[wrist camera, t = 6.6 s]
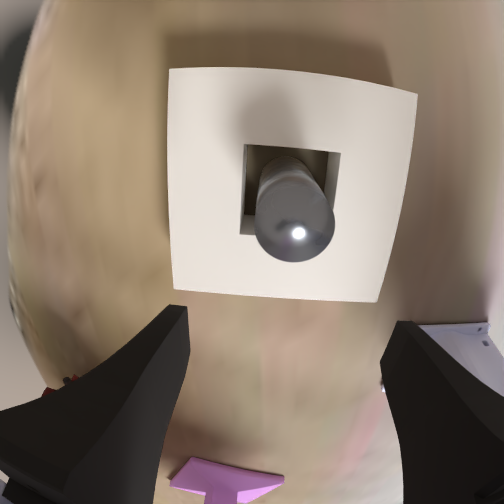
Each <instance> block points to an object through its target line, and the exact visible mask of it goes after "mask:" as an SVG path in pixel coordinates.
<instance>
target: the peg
mask: <svg viewBox="0 0 504 504" xmlns="http://www.w3.org/2000/svg"><path fill="white" fill-rule="evenodd" d="M254 231H255V235H256V238H257V241H258V242H259V244H260V246H261V247H262V248H263V249H264V251H265V252H267V253H268V254H269V255H271V256H272V257H274V258H276V259H278V260H281V261H285V262H292V263H293V262H303V261H307V260H310V259H312V258H314V257H316V256H317V255H319V254H320V253H321V252H323V251H324V250H325V249H326V247H327V246H328V245H329V243H330V242H331V240H332V238H333V235H334V231H335V216H334V213H333V210H332V208H331V206H330V204H329V202H328V201H327V199H326V197H325V196H324V194H323V192H322V191H321V189H320V187H319V186H318V184H317V183H316V181H315V179H314V178H313V176H312V174H311V173H310V171H309V170H308V168H307V167H306V165H305V164H304V163H303V162H301V161H300V160H298V159H296V158H293V157H288V156H283V157H278V158H275V159H273V160H271V161H270V162H269V163H268V164H267V165H266V166H265V167H264V168H263V170H262V172H261V175H260V181H259V189H258V197H257V204H256V212H255V219H254Z"/></svg>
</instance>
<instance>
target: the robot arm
mask: <svg viewBox="0 0 504 504" xmlns="http://www.w3.org/2000/svg"><path fill="white" fill-rule="evenodd" d="M490 327H491V325H490V324H489V323H488V322H486V323H468V324H445V325H417V324H415V323H414V322H413V321H397V323H396V325H395V328H394V330H393V333H392V335H391V338H390V340H389V342H388V345H387V347H386V349H385V352H384V354H383V356H382V358H381V360H380V366H381V373H382V379H383V385H382V387H381V389H382V391H383V392H386V396H387V399H388V403H389V406H390V410H391V413H392V417H393V420H394V424H395V427H396V431H397V435H398V439H399V444H400V451H401V459H402V469H403V504H504V358H503V356H502V355H501V353H500V351H499V350H498V349H497V347H496V346H495V344H494V343H493V341H492V340H491V338H490V337H489V335H488V334H487V333H488V331H489V329H490ZM189 356H190V339H189V326H188V311H187V306H179V305H171V304H169V305H168V306H167V307H166V308H165V309H164V310H163V311H162V312H161V313H159V314H158V315H157V316H156V317H155V318H154V319H153V320H152V321H151V322H150V323H149V324H148V325H147V326H146V327H145V328H144V329H143V330H141V331H140V332H139V333H138V334H137V335H136V336H135V337H134V338H133V339H131V340H130V341H129V342H128V343H127V344H126V345H124V346H123V347H122V348H121V349H119V350H118V351H117V352H116V353H114V354H113V355H112V356H111V357H109V358H108V359H107V360H105V361H104V362H103V363H101V364H100V365H99V366H97V367H96V368H94V369H93V370H91V371H90V372H88V373H87V374H85V375H83V376H82V377H80V378H78V379H76V380H74V381H73V382H71V383H69V384H67V385H65V386H63V387H62V388H60V389H58V390H56V391H54V392H51V393H49V394H47V395H45V396H43V397H40V398H38V399H35V400H33V401H30V402H27V403H25V404H22V405H18V406H15V407H12V408H9V409H5V410H2V411H0V470H1V471H2V472H3V473H5V474H6V475H7V476H8V477H9V480H8V482H7V484H6V483H5V482H4V481H2V480H1V479H0V504H153V498H154V491H155V484H156V478H157V473H158V467H159V462H160V457H161V452H162V447H163V442H164V438H165V434H166V431H167V427H168V424H169V421H170V419H171V416H172V413H173V410H174V407H175V404H176V401H177V398H178V395H179V393H180V390H181V387H182V384H183V381H184V378H185V374H186V370H187V365H188V360H189Z"/></svg>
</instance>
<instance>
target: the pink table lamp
mask: <svg viewBox="0 0 504 504" xmlns="http://www.w3.org/2000/svg"><path fill="white" fill-rule="evenodd" d="M283 483H284V476H278V475H272V474H266V473H260V472H255V471H250V470H245V469H240V468H235V467H231V466H227V465H222V464H218V463H214V462H210V461H207V460H203V459H199V458H196V457H191V458H190V459H189V460H188V461H187V462H186V464H185V465H184V466H183V467H182V468H181V469H180V470H179V472H178V473H177V474H176V475H175V476H174V477H173V478H172V479H171V481H170V486H171V487H175V488H178V489H182V490H185V491H189V492H193V493H197V494H201V495H205V501H204V504H237V502H241V503H248V502H250V501H252V500H254V499H256V498H258V497H260V496H261V495H263V494H265V493H267V492H269V491H271V490H273V489H274V488H276V487H278V486H280V485H282V484H283Z"/></svg>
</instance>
